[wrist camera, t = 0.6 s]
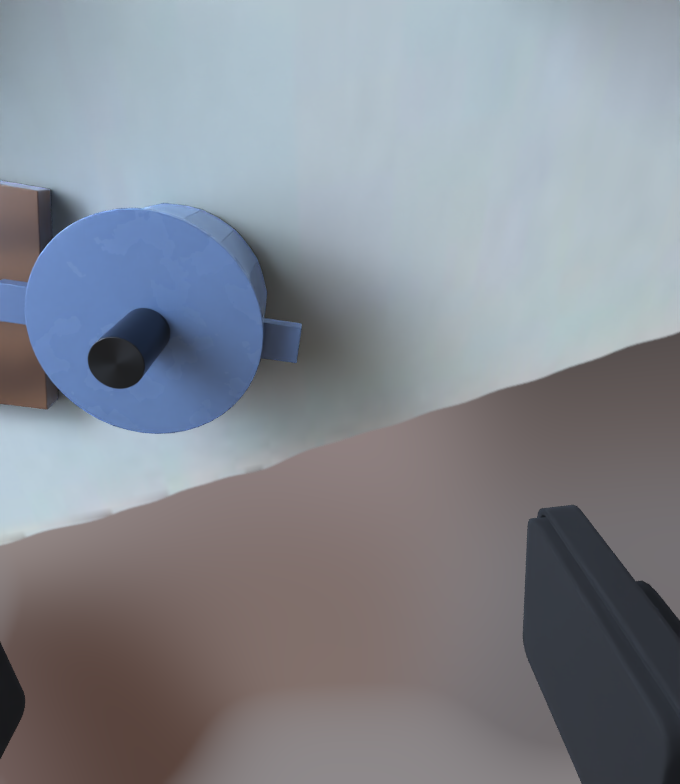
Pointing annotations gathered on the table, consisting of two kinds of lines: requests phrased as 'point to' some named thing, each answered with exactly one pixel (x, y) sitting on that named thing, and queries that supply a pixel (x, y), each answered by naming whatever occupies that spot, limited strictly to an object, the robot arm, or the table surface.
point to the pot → (279, 336)
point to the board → (15, 262)
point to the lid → (144, 320)
